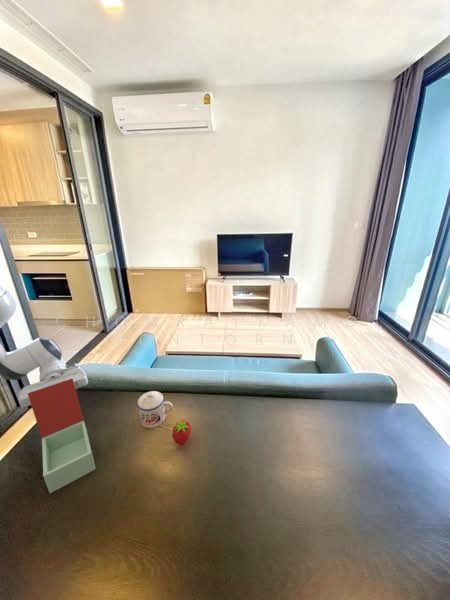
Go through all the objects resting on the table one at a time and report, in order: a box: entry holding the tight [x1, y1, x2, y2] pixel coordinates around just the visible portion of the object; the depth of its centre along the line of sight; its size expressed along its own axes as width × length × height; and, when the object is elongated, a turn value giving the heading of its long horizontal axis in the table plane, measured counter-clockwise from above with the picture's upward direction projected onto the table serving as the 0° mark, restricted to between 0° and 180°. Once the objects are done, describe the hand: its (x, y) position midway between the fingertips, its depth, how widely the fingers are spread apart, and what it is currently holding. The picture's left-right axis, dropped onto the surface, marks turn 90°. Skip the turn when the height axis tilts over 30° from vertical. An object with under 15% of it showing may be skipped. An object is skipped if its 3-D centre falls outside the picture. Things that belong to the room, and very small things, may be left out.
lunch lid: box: [28, 378, 84, 438], centre depth 79 cm, size 15×12×1 cm
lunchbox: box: [41, 420, 96, 494], centre depth 76 cm, size 15×12×7 cm
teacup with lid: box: [137, 390, 173, 429], centre depth 90 cm, size 12×9×12 cm
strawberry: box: [172, 419, 192, 446], centre depth 81 cm, size 6×8×10 cm
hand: (56, 399), depth 83 cm, fingers closed
